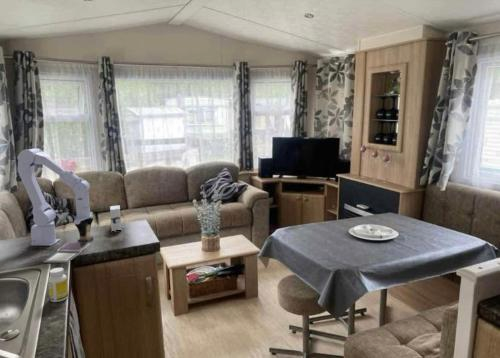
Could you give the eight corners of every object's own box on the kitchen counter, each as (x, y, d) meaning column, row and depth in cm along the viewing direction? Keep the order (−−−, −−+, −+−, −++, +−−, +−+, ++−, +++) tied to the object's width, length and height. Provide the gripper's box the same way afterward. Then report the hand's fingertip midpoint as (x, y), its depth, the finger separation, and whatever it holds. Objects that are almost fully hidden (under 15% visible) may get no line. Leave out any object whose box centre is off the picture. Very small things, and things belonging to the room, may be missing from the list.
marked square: (43, 262, 149) (43, 261, 149) (56, 253, 159) (56, 252, 159) (67, 262, 149) (67, 261, 149) (79, 253, 159) (79, 252, 159)
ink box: (111, 227, 196) (109, 205, 194) (121, 226, 198) (119, 205, 196) (111, 232, 188) (109, 209, 186) (121, 231, 190) (120, 208, 188)
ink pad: (57, 252, 160) (56, 249, 160) (68, 244, 170) (68, 241, 169) (80, 252, 160) (79, 249, 159) (90, 244, 169) (90, 241, 169)
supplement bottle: (71, 294, 123) (68, 266, 121) (63, 302, 117) (61, 273, 116) (54, 294, 123) (52, 266, 121) (46, 302, 117) (43, 273, 116)
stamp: (77, 243, 171) (76, 227, 170) (82, 240, 176) (81, 223, 175) (88, 243, 171) (87, 227, 170) (93, 240, 176) (92, 224, 175)
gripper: (84, 210, 163) (86, 240, 166) (98, 203, 178) (100, 230, 180) (68, 210, 163) (71, 239, 166) (83, 202, 178) (85, 230, 180)
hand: (85, 234), depth 173 cm, fingers closed on stamp, 3 cm apart
